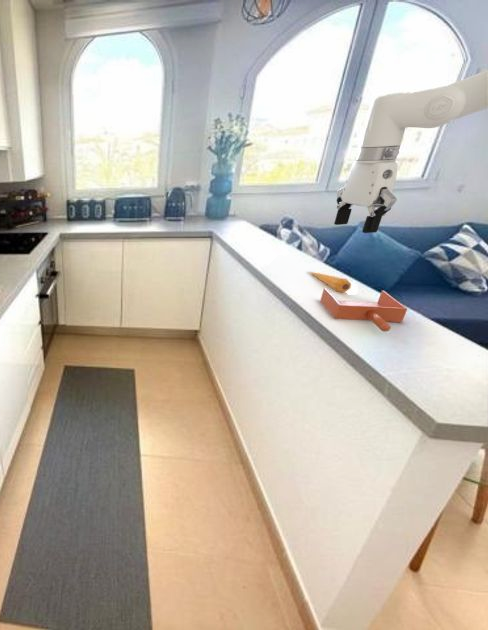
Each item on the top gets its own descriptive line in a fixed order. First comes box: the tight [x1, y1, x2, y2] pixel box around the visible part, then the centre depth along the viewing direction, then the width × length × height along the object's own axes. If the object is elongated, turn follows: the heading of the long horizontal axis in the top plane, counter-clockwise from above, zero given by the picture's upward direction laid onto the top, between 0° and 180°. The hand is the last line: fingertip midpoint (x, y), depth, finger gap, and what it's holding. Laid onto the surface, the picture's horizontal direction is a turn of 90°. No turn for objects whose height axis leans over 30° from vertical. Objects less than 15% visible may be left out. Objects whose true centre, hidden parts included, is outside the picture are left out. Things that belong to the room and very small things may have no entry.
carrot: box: [310, 271, 352, 293], centre depth 118 cm, size 20×4×4 cm, turn 175°
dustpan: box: [320, 287, 408, 332], centre depth 94 cm, size 22×15×4 cm
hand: (354, 228), depth 88 cm, fingers open, 9 cm apart
